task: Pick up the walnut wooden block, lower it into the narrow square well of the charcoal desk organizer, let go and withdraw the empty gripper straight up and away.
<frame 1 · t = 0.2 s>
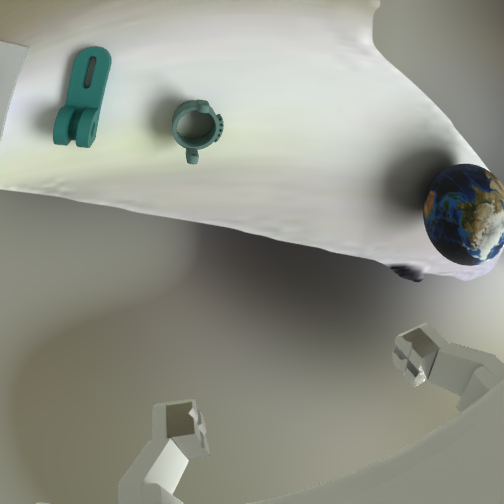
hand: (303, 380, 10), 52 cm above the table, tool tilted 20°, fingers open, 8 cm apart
bracket 2: (87, 92, 42), on the table
globe: (437, 186, 80), on the table
bracket: (196, 120, 52), on the table
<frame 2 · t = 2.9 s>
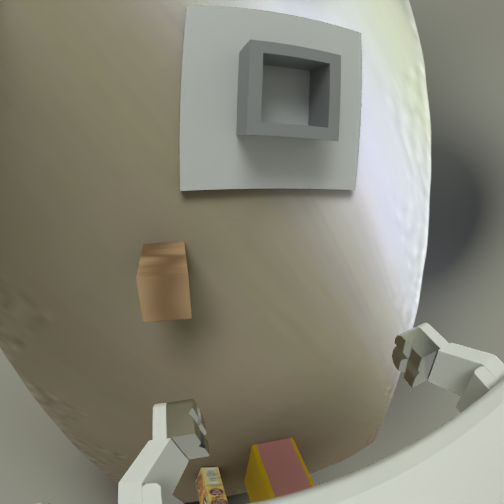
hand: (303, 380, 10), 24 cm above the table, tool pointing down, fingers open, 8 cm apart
candy box: (206, 473, 52), on the table
alarm clock: (266, 461, 55), on the table
well: (277, 96, 28), on the table
walnut block: (165, 262, 32), on the table
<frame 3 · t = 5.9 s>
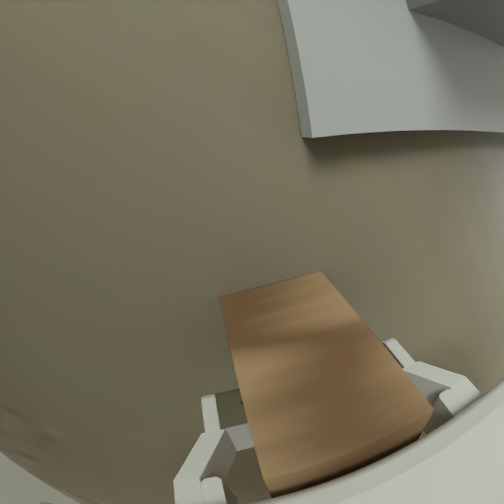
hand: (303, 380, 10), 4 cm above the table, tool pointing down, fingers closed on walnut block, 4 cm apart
walnut block: (277, 324, 13), on the table, touching gripper
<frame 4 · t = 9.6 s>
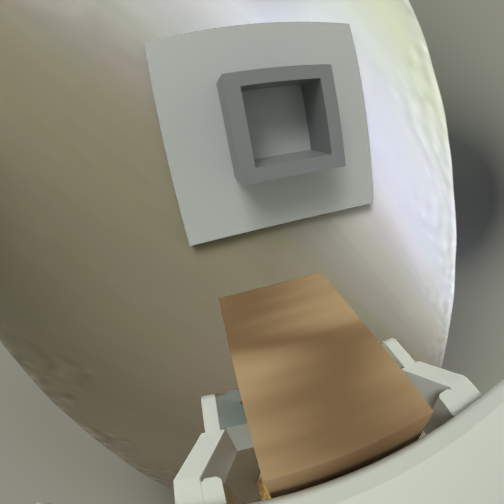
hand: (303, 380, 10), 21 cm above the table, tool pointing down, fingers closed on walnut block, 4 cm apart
candy box: (266, 475, 55), on the table
well: (270, 121, 26), on the table
walnut block: (277, 325, 13), point 17 cm above the table, touching gripper
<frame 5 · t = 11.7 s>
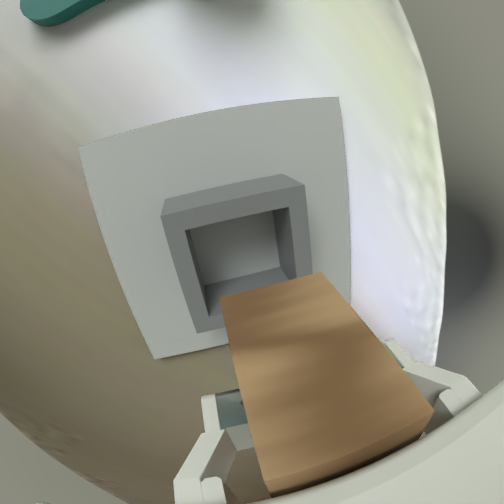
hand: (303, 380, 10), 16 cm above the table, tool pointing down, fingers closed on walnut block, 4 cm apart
well: (233, 235, 24), on the table
walnut block: (277, 325, 13), point 12 cm above the table, touching gripper
when the fingers open (7 cm above the table, at t = 13.6 s): walnut block drops 2 cm, resting on well.
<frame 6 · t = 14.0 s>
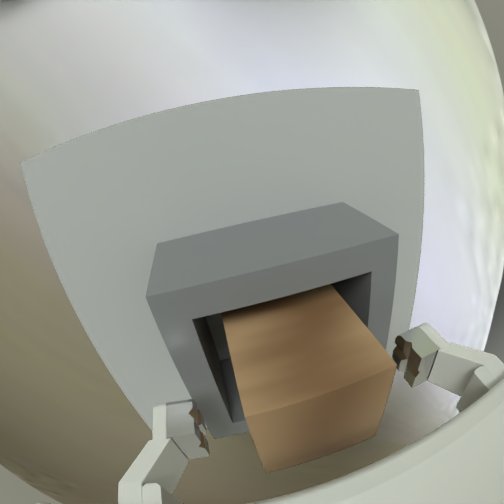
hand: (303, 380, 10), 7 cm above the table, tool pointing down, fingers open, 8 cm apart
well: (263, 292, 16), on the table
walnut block: (266, 302, 15), point 1 cm above the table, touching well
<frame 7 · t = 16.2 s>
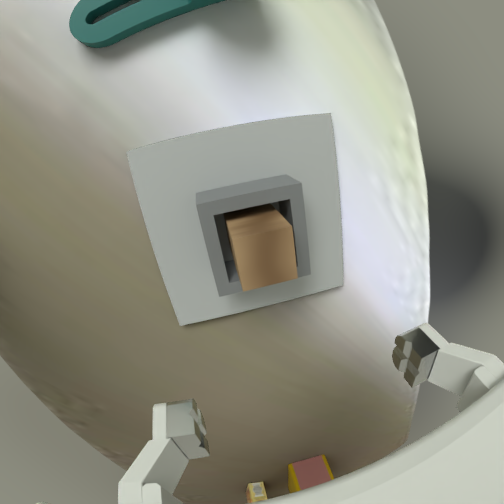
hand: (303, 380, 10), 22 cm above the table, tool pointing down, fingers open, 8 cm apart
candy box: (254, 486, 60), on the table
alarm clock: (304, 472, 61), on the table
well: (247, 222, 31), on the table
walnut block: (248, 226, 30), point 1 cm above the table, touching well
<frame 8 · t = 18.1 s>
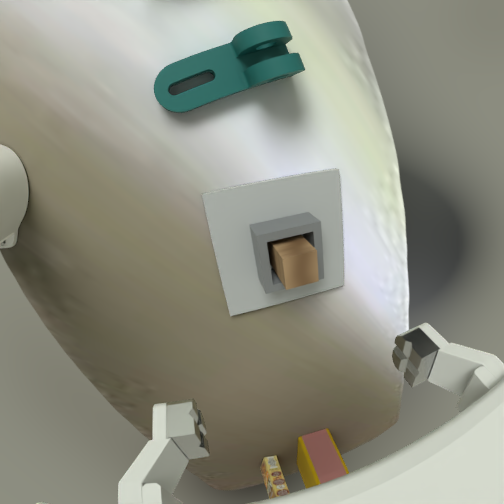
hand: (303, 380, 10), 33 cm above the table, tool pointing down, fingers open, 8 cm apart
bracket 2: (221, 73, 34), on the table
candy box: (268, 461, 74), on the table
alarm clock: (311, 447, 76), on the table
well: (281, 243, 45), on the table
walnut block: (282, 246, 44), point 1 cm above the table, touching well
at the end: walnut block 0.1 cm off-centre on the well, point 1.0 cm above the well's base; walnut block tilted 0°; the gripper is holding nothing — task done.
